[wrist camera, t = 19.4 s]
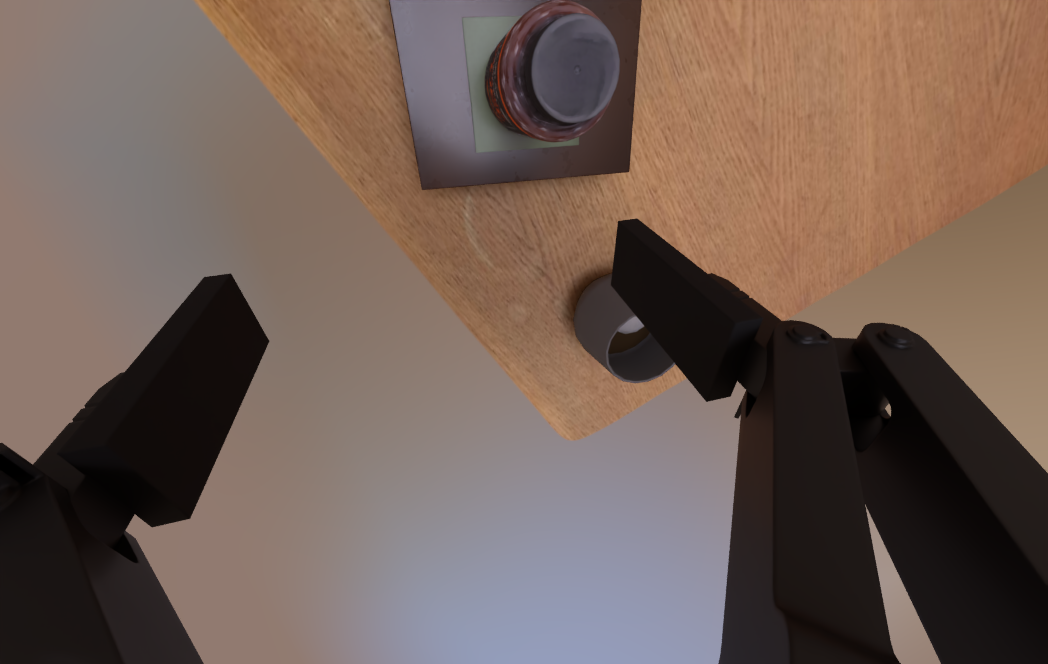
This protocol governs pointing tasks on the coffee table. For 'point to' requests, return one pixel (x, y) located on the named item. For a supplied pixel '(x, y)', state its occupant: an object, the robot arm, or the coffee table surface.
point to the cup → (617, 335)
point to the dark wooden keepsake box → (461, 105)
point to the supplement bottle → (553, 72)
